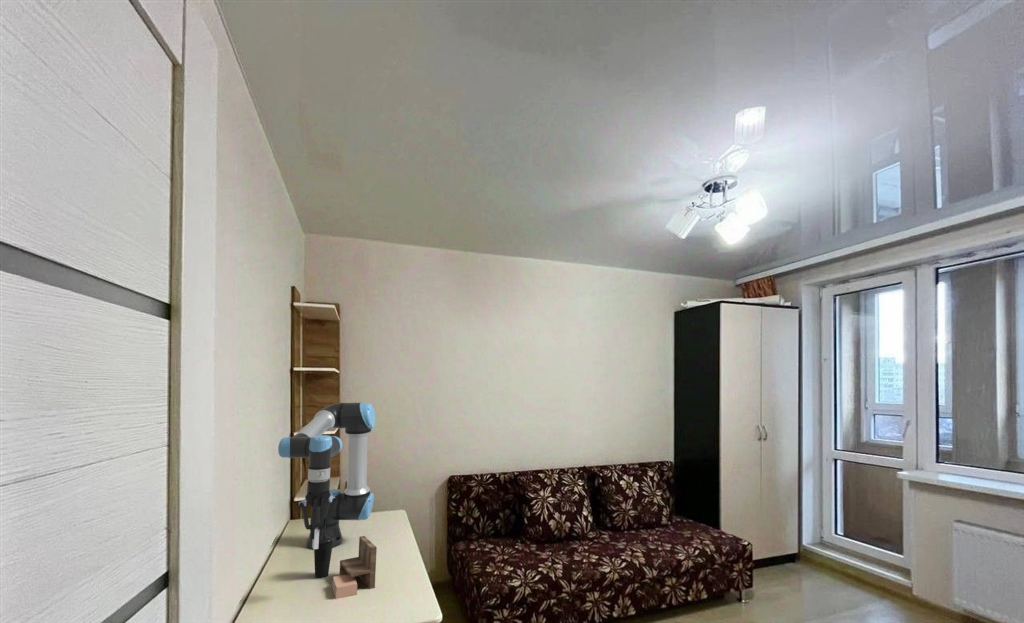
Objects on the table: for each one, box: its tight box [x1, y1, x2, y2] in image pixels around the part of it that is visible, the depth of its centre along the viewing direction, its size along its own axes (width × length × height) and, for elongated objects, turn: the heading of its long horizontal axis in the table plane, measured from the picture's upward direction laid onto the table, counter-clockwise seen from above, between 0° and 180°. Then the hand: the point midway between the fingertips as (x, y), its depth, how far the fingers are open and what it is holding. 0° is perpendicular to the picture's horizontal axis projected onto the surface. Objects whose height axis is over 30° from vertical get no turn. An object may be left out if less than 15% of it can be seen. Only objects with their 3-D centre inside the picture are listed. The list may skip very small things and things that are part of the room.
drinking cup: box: [313, 527, 334, 579], centre depth 186 cm, size 8×8×20 cm
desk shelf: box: [338, 535, 378, 589], centre depth 180 cm, size 15×9×14 cm, turn 34°
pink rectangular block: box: [332, 574, 358, 600], centre depth 172 cm, size 7×10×4 cm
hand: (315, 547), depth 170 cm, fingers closed
